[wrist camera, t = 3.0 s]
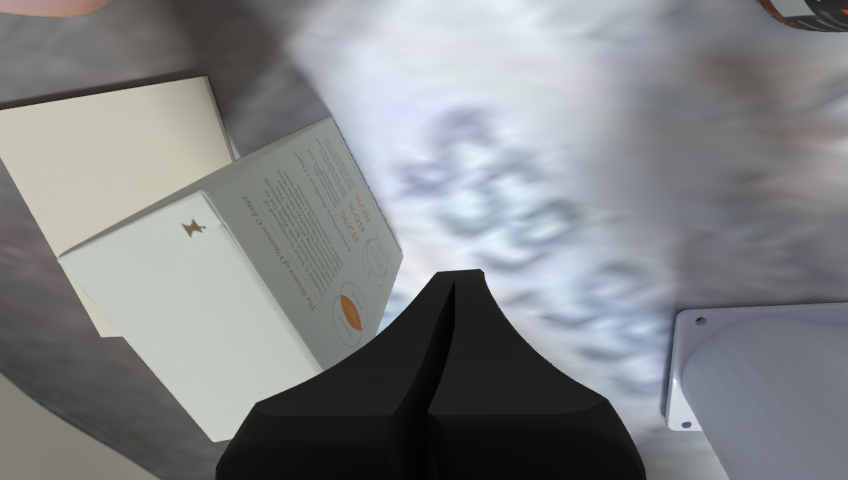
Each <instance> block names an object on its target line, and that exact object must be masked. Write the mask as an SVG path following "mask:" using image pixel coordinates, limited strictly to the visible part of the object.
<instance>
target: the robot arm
mask: <svg viewBox="0 0 848 480" xmlns="http://www.w3.org/2000/svg"><path fill="white" fill-rule="evenodd" d="M700 317H703V318H702V319H701V320H700V321H696V319H698V318H700ZM683 422H684V423H683ZM665 423H666V425H667V427H668V428H669V429H671V430H674V431H703V432H704V434H705V435H706V437H707V439H708V441H709V443H710V444H711V446H712V448H713V450H714V452H715V453H716V455H717V457H718V459H719V461H720V463H721V464H722V466H723V468H724V470H725V472H726V473H727V475H728V477H729V479H730V480H848V302H844V303H822V304H800V305H779V306H757V307H735V308H713V309H692V310H684V311H682V312H680V313H679V314H678V315H677V317H676V324H675V333H674V342H673V351H672V360H671V370H670V379H669V388H668V397H667V406H666V415H665ZM215 480H646V473H645V468H644V465H643V462H642V459H641V457H640V455H639V452H638V450H637V448H636V446H635V444H634V442H633V440H632V438H631V436H630V435H629V433H628V431H627V429H626V427H625V426H624V424H623V422H622V421H621V419H620V417H619V416H618V414H617V413H616V411H615V409H614V408H613V406H612V405H611V403H610V402H609V400H608V399H606V398H605V397H603V396H602V395H600V394H598V393H596V392H594V391H593V390H591V389H589V388H587V387H585V386H584V385H582V384H580V383H578V382H576V381H575V380H573V379H571V378H570V377H568V376H567V375H566V374H564V373H563V372H561V371H560V370H558V369H557V368H556V367H554V366H553V365H552V364H551V363H550V362H548V361H547V360H546V359H545V358H543V357H542V356H541V355H540V354H539V353H537V352H536V351H535V350H534V349H533V348H532V347H531V346H530V345H529V344H528V343H527V342H526V341H525V340H524V339H523V338H522V336H521V335H520V334H519V333H518V332H517V331H516V330H515V329H514V327H513V326H512V325H511V324H510V322H509V321H508V319H507V318H506V317H505V315H504V314H503V313H502V311H501V310H500V308H499V306H498V305H497V303H496V301H495V300H494V298H493V296H492V294H491V292H490V290H489V288H488V286H487V284H486V281H485V276H484V272H483V271H482V270H481V269H472V270H458V271H443V272H437V273H436V274H435V275H434V276H433V277H432V278H431V279H430V281H429V282H428V283H427V284H426V286H425V287H424V288H423V289H422V290H421V292H420V293H419V294H418V295H417V296H416V298H415V299H414V300H413V301H412V302H411V303H410V304H409V305H408V307H407V308H406V309H405V310H404V311H403V312H402V313H401V314H400V315H399V316H398V317H397V318H396V319H395V320H394V321H393V322H392V323H391V324H390V325H389V326H388V327H386V328H385V329H384V330H383V331H382V332H381V333H380V334H378V335H377V336H376V337H375V338H373V339H372V340H371V341H370V342H368V343H367V344H366V345H364V346H363V347H362V348H360V349H359V350H357V351H356V352H354V353H353V354H351V355H349V356H348V357H346V358H345V359H343V360H342V361H340V362H339V363H337V364H336V365H334V366H332V367H331V368H329V369H327V370H325V371H324V372H322V373H320V374H318V375H316V376H314V377H312V378H310V379H308V380H307V381H305V382H302V383H300V384H298V385H296V386H294V387H292V388H289V389H287V390H285V391H282V392H280V393H278V394H276V395H273V396H271V397H269V398H266V399H264V400H261V401H259V402H256V403H255V405H254V406H253V407H252V409H251V410H250V412H249V413H248V415H247V417H246V418H245V420H244V421H243V423H242V424H241V426H240V428H239V429H238V431H237V432H236V434H235V436H234V437H233V439H232V440H231V442H230V444H229V445H228V447H227V448H226V450H225V452H224V453H223V455H222V456H221V458H220V460H219V462H218V464H217V466H216V476H215Z"/></svg>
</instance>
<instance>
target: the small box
mask: <svg viewBox="0 0 848 480" xmlns="http://www.w3.org/2000/svg"><path fill="white" fill-rule="evenodd" d="M402 259H403V254H402V252H401V250H400V248H399V246H398V244H397V243H396V241H395V239H394V237H393V235H392V233H391V231H390V229H389V227H388V225H387V223H386V221H385V219H384V217H383V215H382V214H381V212H380V210H379V208H378V206H377V204H376V202H375V200H374V198H373V196H372V194H371V192H370V190H369V188H368V186H367V184H366V182H365V181H364V179H363V177H362V175H361V173H360V171H359V169H358V167H357V165H356V163H355V161H354V159H353V157H352V155H351V154H350V152H349V150H348V148H347V146H346V144H345V142H344V140H343V138H342V136H341V134H340V132H339V130H338V128H337V126H336V124H335V122H334V120H333V118H332V117H326V118H324V119H322V120H320V121H318V122H315V123H313V124H311V125H309V126H307V127H304V128H302V129H300V130H298V131H296V132H293V133H291V134H289V135H287V136H285V137H283V138H281V139H279V140H276V141H274V142H272V143H270V144H268V145H266V146H264V147H262V148H260V149H258V150H256V151H254V152H252V153H250V154H248V155H246V156H244V157H242V158H240V159H238V160H236V161H234V162H232V163H230V164H228V165H226V166H224V167H222V168H220V169H218V170H216V171H214V172H212V173H211V174H209V175H207V176H205V177H203V178H201V179H199V180H197V181H195V182H193V183H191V184H190V185H188V186H186V187H184V188H182V189H180V190H178V191H176V192H174V193H172V194H171V195H169V196H167V197H165V198H163V199H161V200H159V201H157V202H155V203H153V204H152V205H150V206H148V207H146V208H144V209H142V210H140V211H138V212H136V213H135V214H133V215H131V216H129V217H127V218H125V219H123V220H121V221H120V222H118V223H116V224H114V225H112V226H110V227H108V228H106V229H105V230H103V231H101V232H99V233H97V234H95V235H93V236H92V237H90V238H88V239H86V240H84V241H82V242H81V243H79V244H77V245H75V246H73V247H71V248H70V249H68V250H66V251H65V252H63V253H62V254H60V255H59V257H58V258H57V261H58V262H59V263H60V264H61V265H62V266H63V267H64V269H65V270H66V271H67V272H68V273H69V274H70V275H71V277H72V278H73V279H74V280H75V281H76V283H77V284H78V285H79V286H80V287H81V288H82V290H83V291H84V292H85V293H86V294H87V295H88V297H89V298H90V299H91V300H92V301H93V303H94V304H95V305H96V306H97V307H98V308H99V309H100V311H101V312H102V313H103V314H104V315H105V317H106V318H107V319H108V320H109V321H110V322H111V323H112V325H113V326H114V327H115V328H116V329H117V330H118V332H119V333H120V334H121V335H122V336H123V337H124V338H125V340H126V341H127V342H128V343H129V344H130V345H131V347H132V348H133V349H134V350H135V351H136V353H137V354H138V355H139V356H140V357H141V358H142V360H143V361H144V362H145V363H146V364H147V365H148V366H149V368H150V369H151V370H152V371H153V372H154V374H155V375H156V376H157V377H158V378H159V380H160V381H161V382H162V383H163V384H164V385H165V386H166V388H167V389H168V390H169V391H170V392H171V393H172V394H173V396H174V397H175V398H176V399H177V401H178V402H179V403H180V404H181V405H182V406H183V407H184V409H185V410H186V411H187V412H188V413H189V415H190V416H191V417H192V418H193V419H194V420H195V422H196V423H197V424H198V425H199V426H200V428H201V429H202V430H203V431H204V432H205V433H206V434H207V436H208V437H209V438H210V440H211V441H213V442H218V441H222V440H228V439H233V437H234V436H235V434H236V432H237V431H238V429H239V428H240V426H241V424H242V423H243V421H244V420H245V418H246V417H247V415H248V413H249V412H250V410H251V409H252V407H253V406H254V405H255V403H256V402H259V401H261V400H264V399H266V398H269V397H271V396H273V395H276V394H278V393H280V392H282V391H285V390H287V389H289V388H292V387H294V386H296V385H298V384H300V383H302V382H305V381H307V380H308V379H310V378H312V377H314V376H316V375H318V374H320V373H322V372H324V371H325V370H327V369H329V368H331V367H332V366H334V365H336V364H337V363H339V362H340V361H342V360H343V359H345V358H346V357H348V356H349V355H351V354H353V353H354V352H356V351H357V350H359V349H360V348H362V347H363V346H364V345H366V344H367V343H368V342H370V341H371V340H372V339H373V338H375V336H376V333H377V330H378V328H379V325H380V322H381V319H382V316H383V313H384V310H385V308H386V305H387V302H388V299H389V296H390V293H391V290H392V288H393V285H394V282H395V279H396V276H397V273H398V270H399V268H400V265H401V262H402Z"/></svg>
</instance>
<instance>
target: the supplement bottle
mask: <svg viewBox="0 0 848 480" xmlns="http://www.w3.org/2000/svg"><path fill="white" fill-rule="evenodd" d="M760 1H761V3H762V5H763V6H764V8H765V9H766V10H767V11H768V12H769V13H770V14H771V15H772V17H774V18H775V19H777V20H778V21H779V22H782V23H784V24H785V25H788V26H791V27H793V28H797V29H803V30H808V31H820V32H848V0H760Z"/></svg>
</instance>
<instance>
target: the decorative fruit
mask: <svg viewBox="0 0 848 480" xmlns="http://www.w3.org/2000/svg"><path fill="white" fill-rule="evenodd" d="M111 1H112V0H0V12H5V13H13V14H21V15H31V16H46V17H68V16H78V15H82V14H87V13H90V12H93V11H96V10H98V9H100V8H101V7H103V6H105V5H106V4H108V3H109V2H111Z"/></svg>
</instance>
